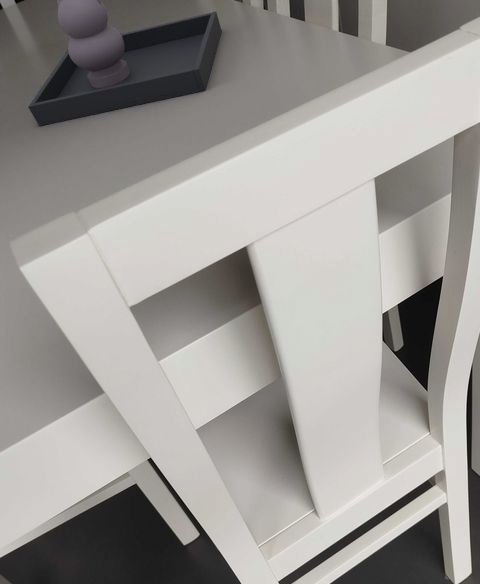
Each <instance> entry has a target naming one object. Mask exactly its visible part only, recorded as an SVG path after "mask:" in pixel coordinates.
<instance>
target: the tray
mask: <svg viewBox="0 0 480 584" xmlns="http://www.w3.org/2000/svg"><path fill="white" fill-rule="evenodd" d="M120 34H121V36H122V38H123V41H124V53H123V55H122V57H121V59H120V60H124V61H126V62H127V65H128V67H129V70H130V74H129V75H128V76H127V77H126V78H125V79H124V80H122V81H120V82H118V83H116V84H114V85H111V86H108V87H103V88H95V87H93V86H91V84H90V81H89V79H88V77H87V75H88V73H89V72H90V71H88V70H84V69H82V68H80V67H79V66H77V65H76V64H75V63H74V62H73V61H72V60H71V58H70V56H69V52H68V49H67V50H66V51H65V53H64V54H63V56H62V57H61V58H60V60H59V62H57V64H56V66H54V69H53V70H52V71H51V73H49V76H48V78H47V79H46V80H45V81H44V83H43V85H41V88H39V90H38V92H37V93H36V95H35V96H34V98H33V99H32V100H31V102H30V103H29V105H28V106H27V107H28V108H27V109H28V110H29V112H30V113H31V114H32V117H33V118H34V120H35V122H36V123H37V126H38V127H42V126H46V125H50V124H56V123H61V122H66V121H70V120H74V119H80V118H84V117H88V116H93V115H99V114H102V113H106V112H107V113H108V112H112V111H117V110H121V109H122V110H123V109H125V108H132V107H136V106H140V105H145V104H151V103H153V102H159V101H164V100H168V99H172V98H176V97H181V96H186V95H190V94H196V93H201V92H205V91H206V90H207V86H208V83H209V79H210V75H211V72H212V69H213V68H212V67H213V64H214V60H215V57H216V54H217V50H218V46H219V43H220V39H221V35H222V27H221V22H220V20H219V16H218V13H217V11H215V10H214V11H212V12H207V13H203V14H199V15H196V16H191V17H185V18H182V19H178V20H174V21H170V22H166V23H161V24H157V25H153V26H149V27H144V28H141V29H136V30H132V31H128V32H125V33H120ZM163 99H164V100H163Z"/></svg>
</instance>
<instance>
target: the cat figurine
mask: <svg viewBox="0 0 480 584" xmlns="http://www.w3.org/2000/svg"><path fill="white" fill-rule="evenodd" d="M55 1H56V4H57V5H58V8H57V20H58V24H59V26H60V27H61V29H62V31H63V32H64V33H65V34H66V35H68V36H69V37H70V38H69V40H68V43H67V44H68V45H67V50H68V52H69V56H70V58H71V60H72V61H73V62H74V63H75V64H76V65H77V66H79V67H80V68H82V69H84V70H88V71H90V72H89V73H88V75H87V77H88V79H89V81H90V84H91V86H93V87H95V88H103V87H108V86H111V85H114V84H116V83H118V82H120V81H122V80H124V79H125V78H126V77H127V76H128V75H129V74H130V70H129V67H128V65H127V62H126V61H124V60H120V59H121V57H122V55H123V53H124V41H123V38H122V36H121V34H122V33H121V32H120V31H119V30H118V29H117V28H115V27H114V26H112V25H110V24H108V17H109V16H108V12H107V8H106V6H105V4H104V3H103V2H102V0H55Z"/></svg>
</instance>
